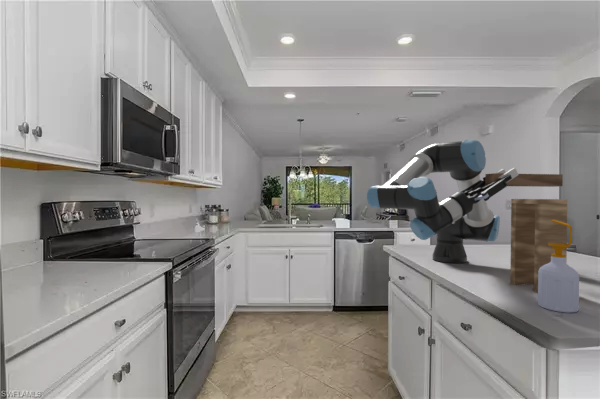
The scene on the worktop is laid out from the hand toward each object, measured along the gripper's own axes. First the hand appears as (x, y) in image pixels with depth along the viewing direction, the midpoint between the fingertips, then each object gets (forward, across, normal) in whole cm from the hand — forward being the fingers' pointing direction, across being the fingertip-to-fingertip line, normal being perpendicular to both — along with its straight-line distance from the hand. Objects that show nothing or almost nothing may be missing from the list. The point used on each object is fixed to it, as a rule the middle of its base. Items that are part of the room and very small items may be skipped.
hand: (510, 172), depth 113 cm
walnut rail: (+2, 0, -7) cm, 7 cm away
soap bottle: (-21, +19, -34) cm, 44 cm away
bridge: (-10, 0, -39) cm, 41 cm away
